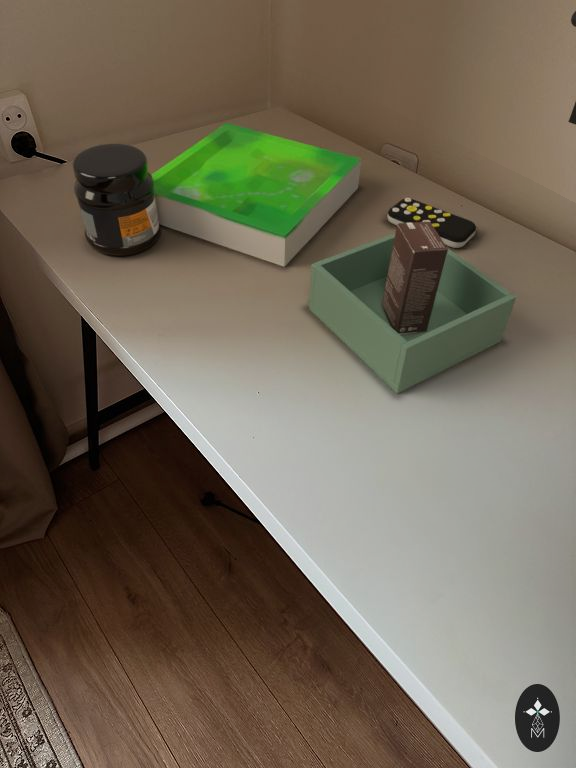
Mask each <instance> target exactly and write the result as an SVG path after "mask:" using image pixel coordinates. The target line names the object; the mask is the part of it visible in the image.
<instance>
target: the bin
mask: <svg viewBox="0 0 576 768" xmlns="http://www.w3.org/2000/svg"><path fill="white" fill-rule="evenodd" d="M395 233H396V232H394V233H392V234H389V235H386V236H383V237H381V238H378V239H374V240H372V241H369V242H367V243H364V244H362V245H360V246H357V247H354V248H351V249H349V250H346V251H343V252H340V253H338V254H335V255H332V256H330V257H327V258H325V259H322V260H318V261H317V262H314V263H311V269H310V270H311V273H310V285H309V286H310V287H309V289H310V290H309V303H308V309H309V311H310V312H311V313H312V314H314V315H315V316H316V317H317V318H318V319H319V320H320V321H321V322H322V323H323V324H324V325H325V326H326V327H327V328H328V329H329V330H330V331H331V332H333V334H334V335H335V336H336V337H338V338H339V339H340V341H341V342H343V343H344V344H345V345H346V346H347V347H348V348H349V349H350V350H351V351H352V352H353V353H354V354H355V355H356V356H357V357H358V358H359V359H360V360H361V361H362V362H364V363H365V364H366V365H367V366H368V367H369V369H371V371H373V372H374V373H375V374H376V375H377V376H378V377H379V378H380V379H381V380H382V381H383V382H384V383H385V384H387V386H388V387H390V388H391V390H393V391H394V392H395V393H396V394H400V393H401V392H403V391H405V390H407V389H410V388H412V387H413V386H415V385H418V384H419V383H421V382H423V381H425V380H427V379H430V378H431V377H433V376H435V375H438V374H440V373H441V372H443V371H446V370H447V369H449V368H451V367H453V366H455V365H457V364H459V363H461V362H463V361H465V360H467V359H469V358H471V357H474V356H475V355H477V354H479V353H481V352H483V351H485V350H487V349H489V348H490V347H491V348H492V347H493V346H495V345H497V344H499V343H501V341H502V338H503V335H504V333H505V330H506V327H507V325H508V322H509V319H510V316H511V313H512V310H513V308H514V305H515V302H516V299H517V296H516V295H514V294H513V293H512V292H510V291H509V290H508V289H506V288H505V287H503V286H502V285H501V284H499V283H497V282H496V281H494V280H493V279H492V278H490V277H489V276H488V275H486V274H485V273H484V272H482V271H480V269H478V268H476V267H475V266H474V265H472V264H471V263H470V262H468V261H467V260H465V259H464V258H462V257H461V256H460V255H459V254H457V253H455V252H454V251H453V250H451V249H449V248H448V251H447V255H446V258H445V263H444V266H443V270H442V274H441V278H440V282H439V286H438V290H437V293H436V297H435V302H434V305H433V309H432V313H431V317H430V321H429V324H428V328H427V331H425V332H420V333H412V334H403V335H399V334H398V333H397V332H396V331H395V330H394V329H393V328H392V327H391V325H390V323H389V321H388V319H387V316H386V314H385V312H384V310H383V308H382V300H383V295H384V290H385V284H386V279H387V274H388V269H389V264H390V259H391V254H392V248H393V243H394V238H395Z"/></svg>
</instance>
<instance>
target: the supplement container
mask: <svg viewBox="0 0 576 768" xmlns="http://www.w3.org/2000/svg"><path fill="white" fill-rule="evenodd" d="M72 169H73V174H74V178H75V182H74V185H73V186H74V187H73V191H74V194H75V197H76V199H77V203H78V208H79V212H80V216H81V221H82V225H83V229H84V234H85V238H86V239H85V240H87V243H88V244H89V245H90V247H92V249H94V250H96V251H97V252H99V253H102V254H105V255H109V256H116V257H117V256H129V255H130V256H131V255H134V254H138V253H140V252H143V251H145V250H147V249H149V248H150V247H152V246H153V245H154V244H155V243H156V242H157V240H158V239H159V237H160V232H161V225H160V224H159V222H158V215H157V208H156V201H155V194H154V180H153V178H152V176H151V175H152V174H151V173H150V172H149V165H148V159H147V156H146V154H145V152H143V151H142V150H141V149H140V148H138V147H135V146H133V145H130V144H124V143H105V144H99V145H94V146H92V147H88V148H87V149H84V150H82V151H80V152H79V153H77V155H76V156H75V157H74V159H72Z"/></svg>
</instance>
